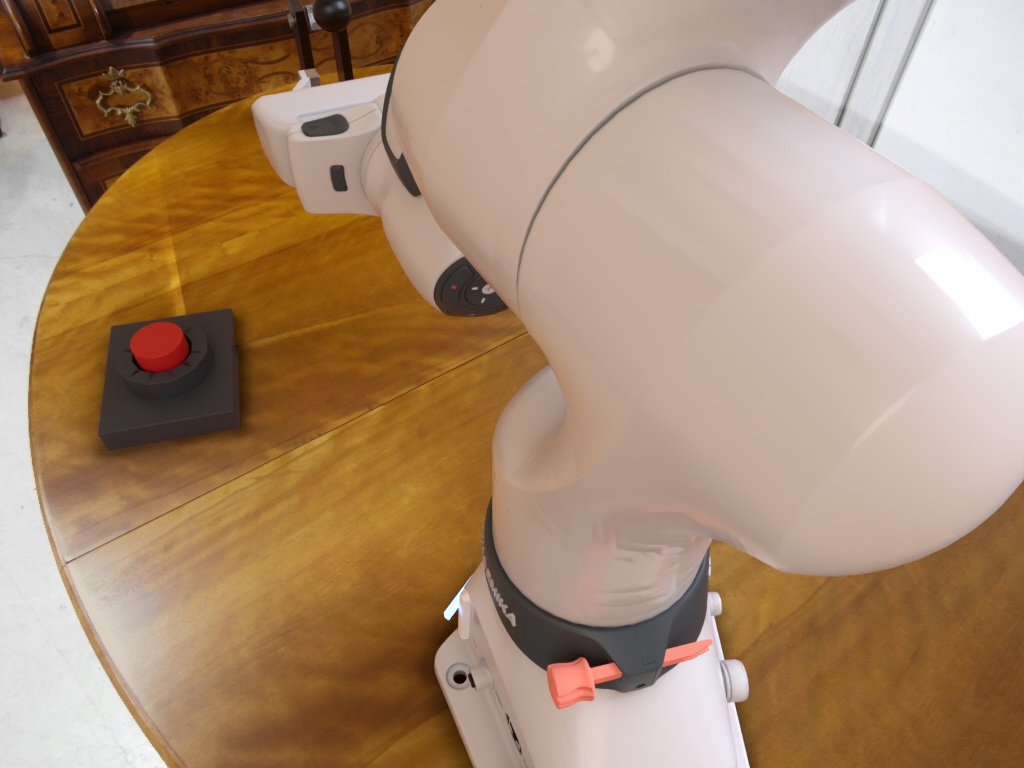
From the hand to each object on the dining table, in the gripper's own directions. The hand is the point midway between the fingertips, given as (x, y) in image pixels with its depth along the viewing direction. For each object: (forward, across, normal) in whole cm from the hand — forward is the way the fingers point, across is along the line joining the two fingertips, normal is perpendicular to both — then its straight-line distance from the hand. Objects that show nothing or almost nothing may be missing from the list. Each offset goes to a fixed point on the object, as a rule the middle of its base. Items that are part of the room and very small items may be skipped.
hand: (363, 67), depth 65 cm
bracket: (+21, 0, +18) cm, 27 cm away
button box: (-13, +22, +17) cm, 31 cm away
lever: (+15, 0, +4) cm, 16 cm away
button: (-13, +22, +14) cm, 29 cm away
